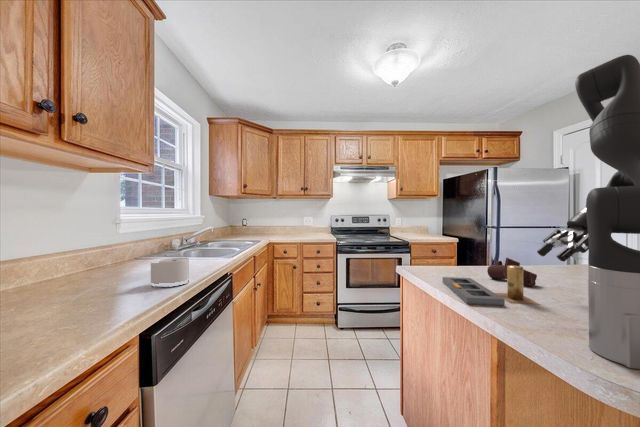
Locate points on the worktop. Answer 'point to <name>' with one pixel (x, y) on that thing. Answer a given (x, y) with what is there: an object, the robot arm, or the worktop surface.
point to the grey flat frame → (473, 292)
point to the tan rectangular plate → (525, 301)
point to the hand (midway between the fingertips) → (549, 256)
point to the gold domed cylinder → (515, 282)
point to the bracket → (501, 272)
